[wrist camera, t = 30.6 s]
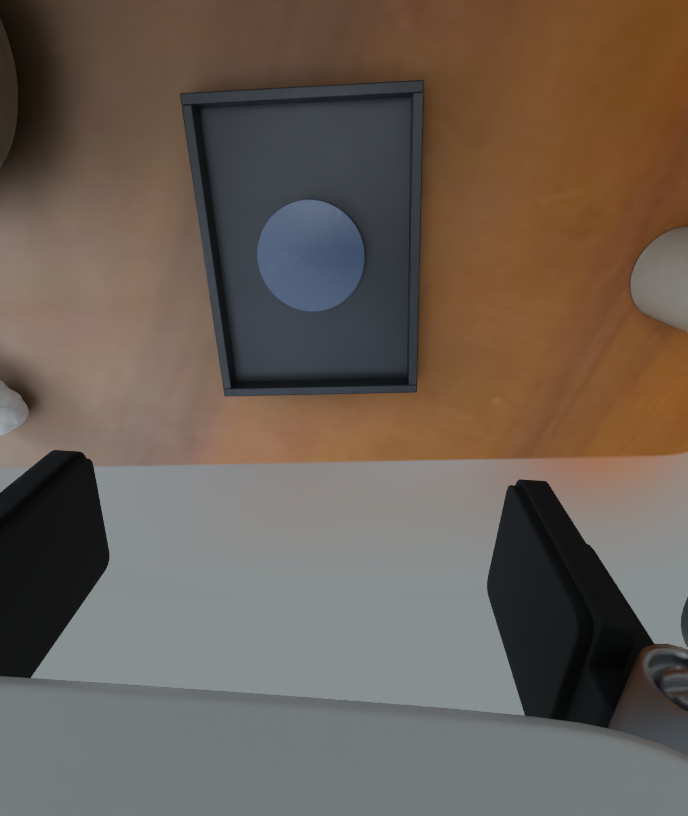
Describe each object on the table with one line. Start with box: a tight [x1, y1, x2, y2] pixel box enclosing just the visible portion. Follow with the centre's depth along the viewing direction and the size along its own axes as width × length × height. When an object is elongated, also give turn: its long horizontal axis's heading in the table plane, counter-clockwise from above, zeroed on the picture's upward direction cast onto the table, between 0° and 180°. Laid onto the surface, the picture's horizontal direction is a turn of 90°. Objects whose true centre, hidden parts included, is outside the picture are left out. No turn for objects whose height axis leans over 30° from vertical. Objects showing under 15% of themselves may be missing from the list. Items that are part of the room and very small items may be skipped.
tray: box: [180, 80, 424, 396], centre depth 33 cm, size 19×14×2 cm
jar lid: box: [257, 198, 366, 312], centre depth 32 cm, size 7×7×2 cm
